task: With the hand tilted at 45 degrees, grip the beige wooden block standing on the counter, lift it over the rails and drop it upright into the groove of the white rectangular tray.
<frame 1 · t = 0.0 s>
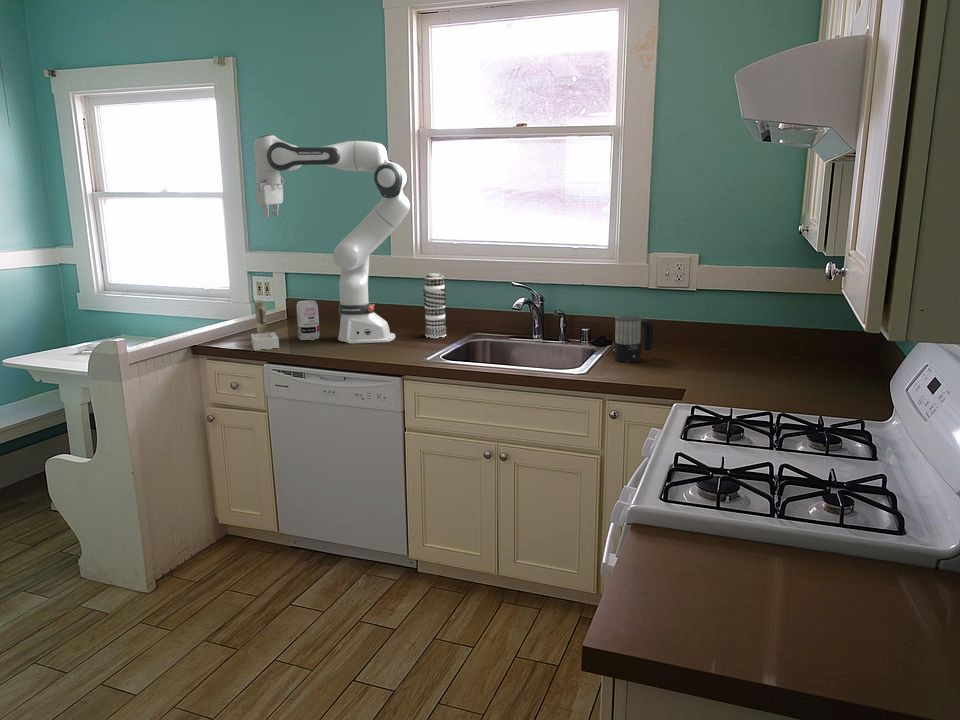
hand: (271, 216, 290), 48 cm above the countertop, tool pointing down, fingers open, 8 cm apart
decorative candle: (435, 336, 303), on the countertop
supplement can: (309, 339, 300), on the countertop
milk frother: (624, 357, 262), on the countertop
white rectangular tray: (265, 346, 287), on the countertop
beige wooden block: (262, 338, 301), on the countertop
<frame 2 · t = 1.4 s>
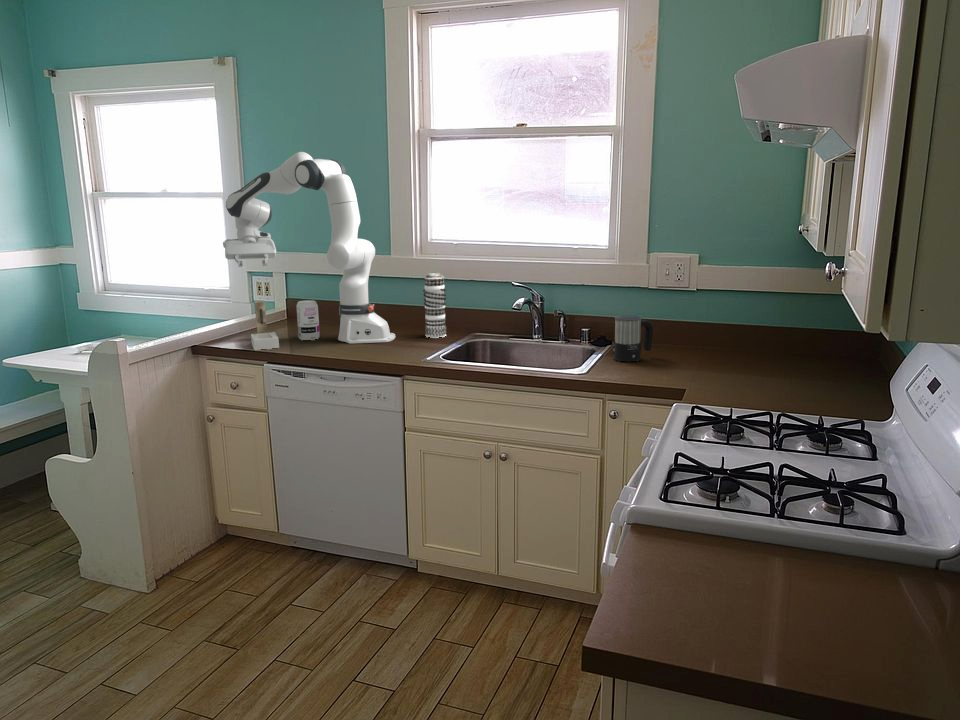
hand: (252, 265, 306), 28 cm above the countertop, tool tilted 45°, fingers open, 8 cm apart
nothing on the countertop moved.
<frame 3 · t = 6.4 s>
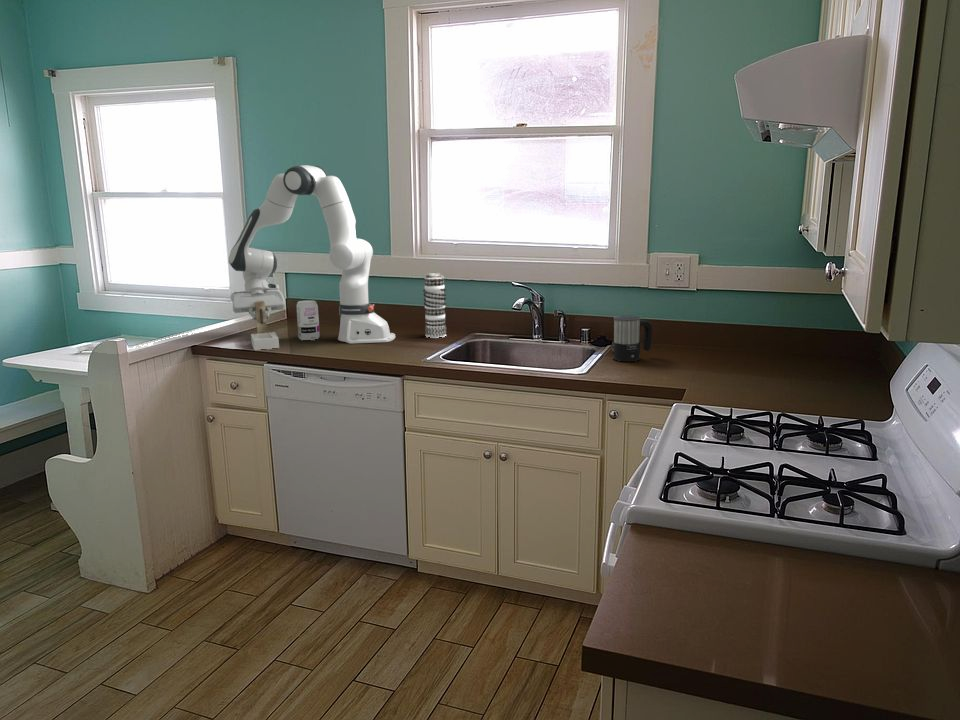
hand: (261, 318, 299), 8 cm above the countertop, tool tilted 45°, fingers closed on beige wooden block, 3 cm apart
beige wooden block: (262, 338, 301), on the countertop, touching gripper
everything else where it was.
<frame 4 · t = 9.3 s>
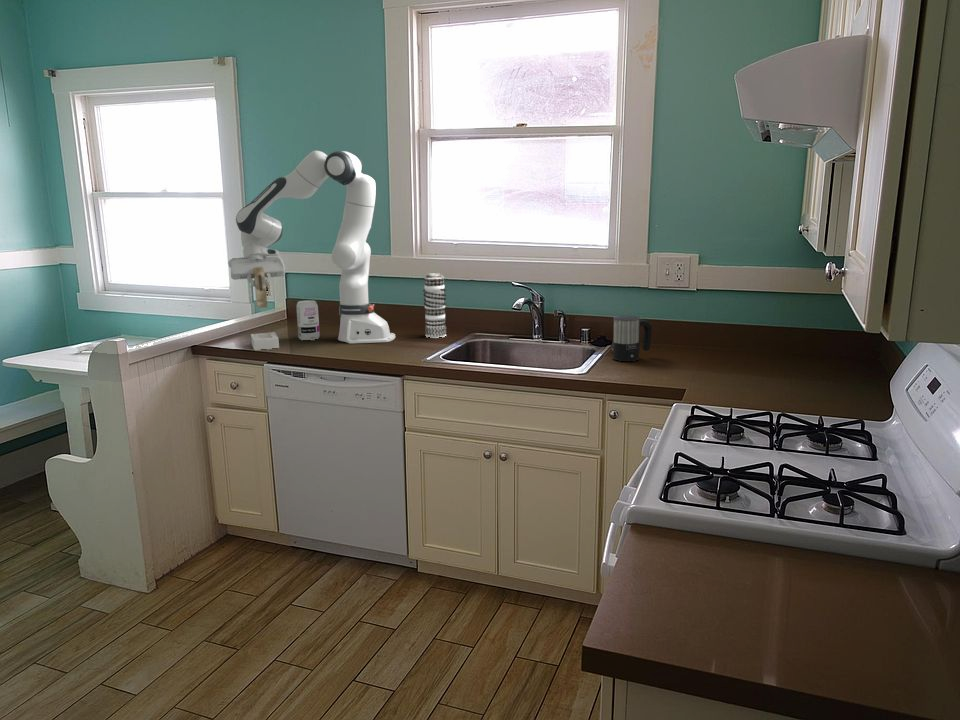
hand: (260, 285, 286), 23 cm above the countertop, tool tilted 45°, fingers closed on beige wooden block, 3 cm apart
beige wooden block: (262, 306, 289), point 15 cm above the countertop, touching gripper
everything else where it was.
when the fingers open (11 cm above the countertop, at t = 12.4 s): beige wooden block drops 1 cm, resting on white rectangular tray.
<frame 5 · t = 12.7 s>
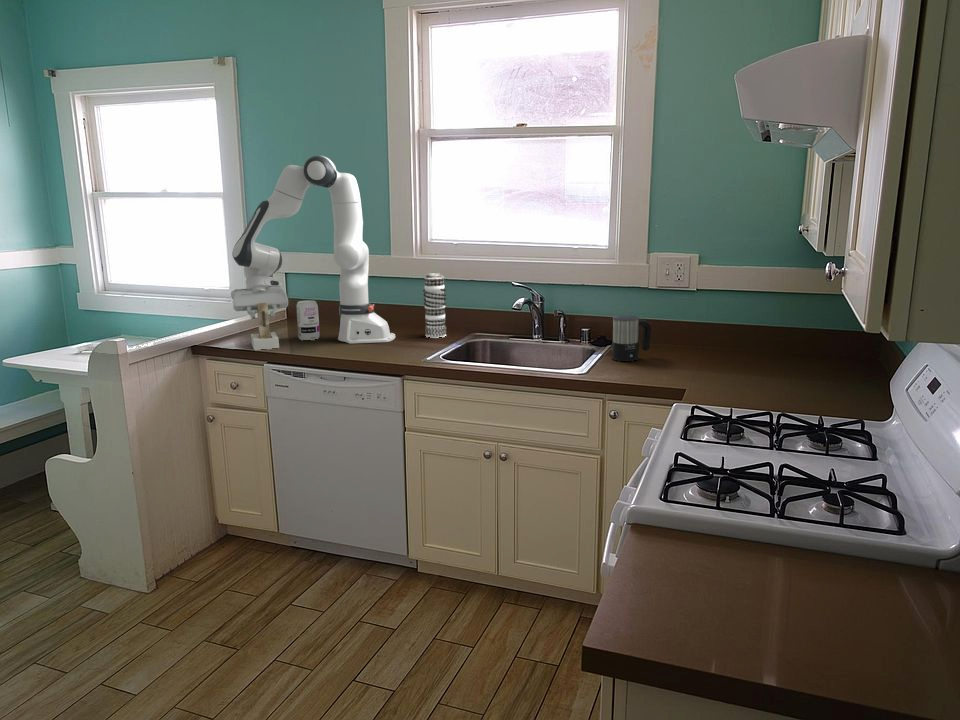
hand: (263, 317, 284), 11 cm above the countertop, tool tilted 45°, fingers open, 6 cm apart
beige wooden block: (265, 342, 287), point 1 cm above the countertop, touching white rectangular tray
everything else where it was.
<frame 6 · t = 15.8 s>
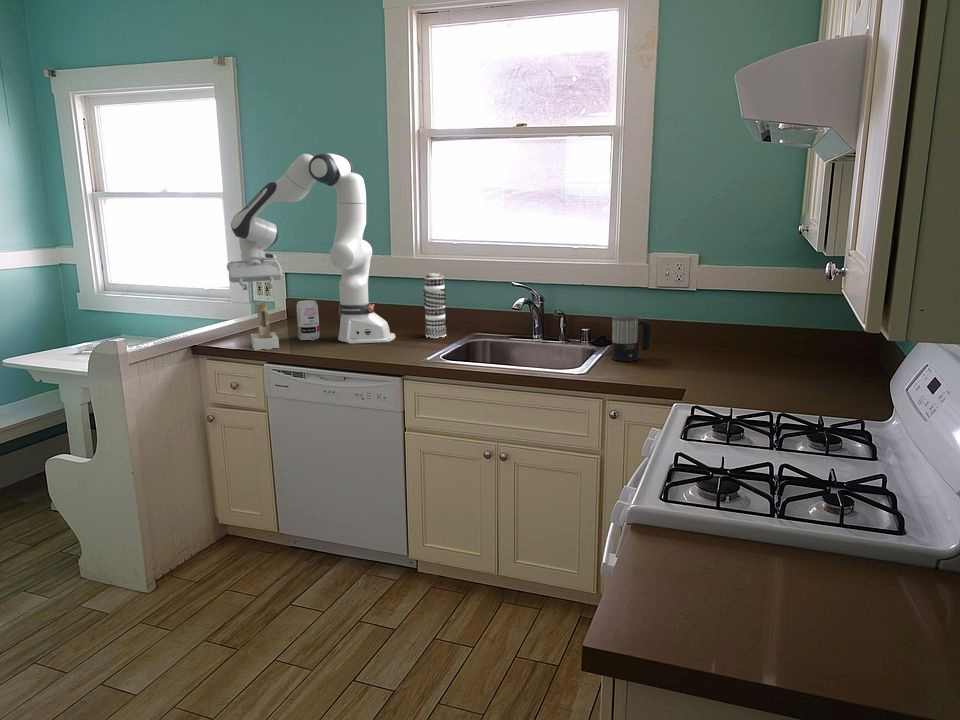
hand: (257, 288, 293), 21 cm above the countertop, tool tilted 45°, fingers open, 8 cm apart
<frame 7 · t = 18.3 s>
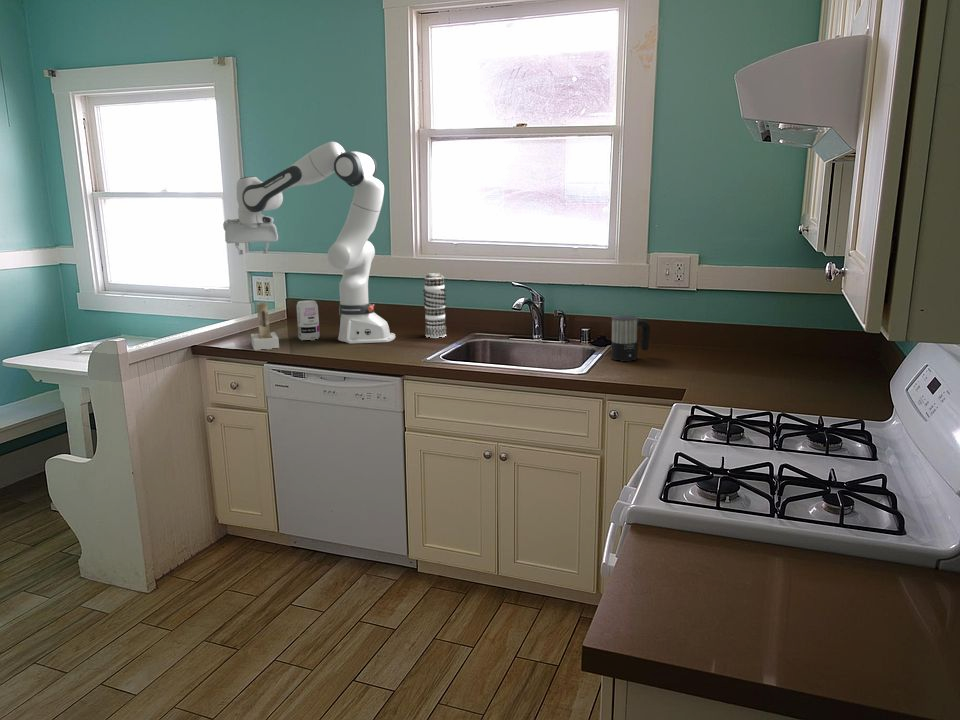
hand: (253, 253, 302), 33 cm above the countertop, tool pointing down, fingers open, 8 cm apart
at the end: beige wooden block inside the target area on the white rectangular tray (0.1 cm from its centre), point 1.5 cm above the white rectangular tray's base; beige wooden block tilted 0°; the gripper is holding nothing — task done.
